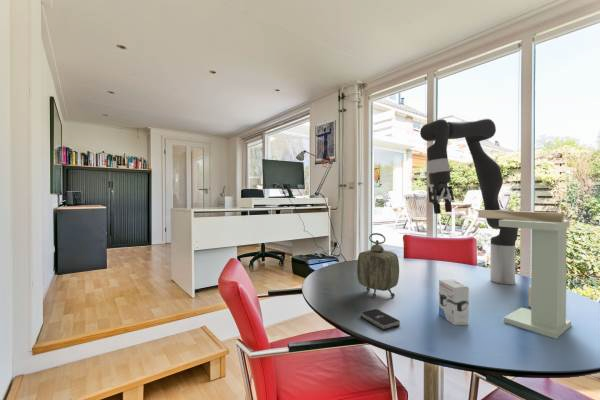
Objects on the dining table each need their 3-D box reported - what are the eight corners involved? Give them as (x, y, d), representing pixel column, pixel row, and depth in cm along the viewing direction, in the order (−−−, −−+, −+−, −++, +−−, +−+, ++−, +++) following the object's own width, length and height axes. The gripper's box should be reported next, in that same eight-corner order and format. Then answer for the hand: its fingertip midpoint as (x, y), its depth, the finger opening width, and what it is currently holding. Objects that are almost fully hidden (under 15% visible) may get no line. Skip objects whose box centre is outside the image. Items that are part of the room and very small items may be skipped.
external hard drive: (376, 314, 95) (376, 308, 95) (401, 327, 85) (401, 321, 85) (359, 318, 92) (359, 312, 92) (383, 333, 82) (383, 326, 82)
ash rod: (481, 217, 101) (482, 209, 101) (563, 221, 82) (564, 212, 82) (478, 217, 99) (478, 210, 99) (561, 222, 81) (561, 213, 81)
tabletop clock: (399, 297, 110) (399, 233, 110) (388, 304, 103) (388, 236, 103) (366, 289, 120) (366, 230, 119) (354, 294, 113) (354, 232, 113)
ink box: (438, 314, 95) (438, 279, 94) (452, 313, 95) (452, 278, 95) (454, 325, 86) (454, 287, 86) (469, 325, 86) (469, 287, 86)
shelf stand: (516, 310, 97) (516, 217, 97) (571, 325, 86) (572, 220, 85) (498, 320, 89) (498, 220, 89) (555, 338, 78) (556, 223, 77)
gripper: (438, 173, 117) (443, 212, 117) (419, 173, 109) (424, 214, 108) (457, 170, 111) (461, 211, 111) (438, 169, 103) (443, 213, 102)
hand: (443, 212), depth 110 cm, fingers open, 8 cm apart
